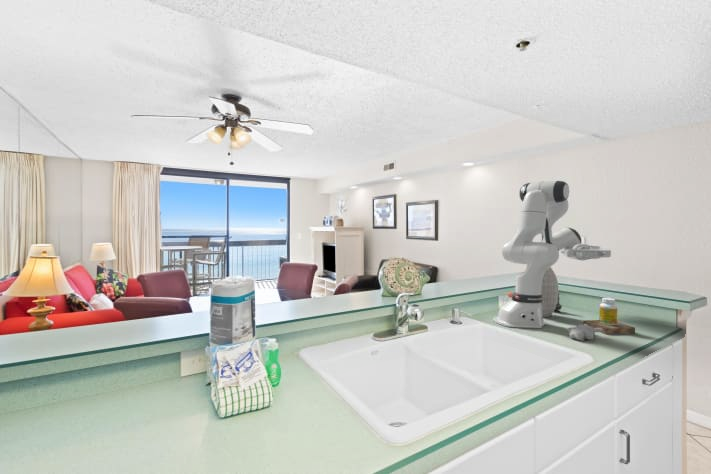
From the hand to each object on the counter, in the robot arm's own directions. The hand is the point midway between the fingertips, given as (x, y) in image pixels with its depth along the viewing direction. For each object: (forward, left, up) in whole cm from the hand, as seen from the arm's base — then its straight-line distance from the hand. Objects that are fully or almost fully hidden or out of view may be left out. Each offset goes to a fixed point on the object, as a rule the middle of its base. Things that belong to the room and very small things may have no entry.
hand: (593, 254), depth 161 cm
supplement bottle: (-5, -15, -30) cm, 34 cm away
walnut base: (-6, -15, -33) cm, 37 cm away
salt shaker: (-8, +16, -33) cm, 37 cm away
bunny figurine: (-25, -24, -33) cm, 48 cm away
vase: (-20, +9, -33) cm, 39 cm away
